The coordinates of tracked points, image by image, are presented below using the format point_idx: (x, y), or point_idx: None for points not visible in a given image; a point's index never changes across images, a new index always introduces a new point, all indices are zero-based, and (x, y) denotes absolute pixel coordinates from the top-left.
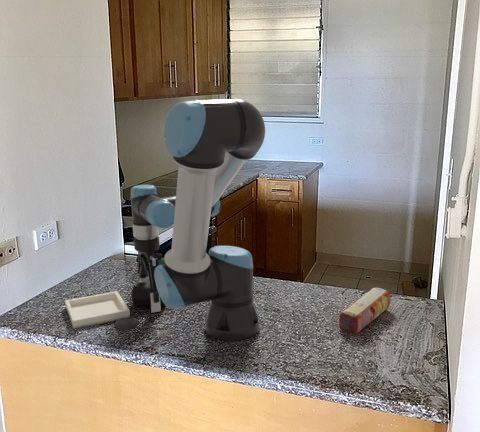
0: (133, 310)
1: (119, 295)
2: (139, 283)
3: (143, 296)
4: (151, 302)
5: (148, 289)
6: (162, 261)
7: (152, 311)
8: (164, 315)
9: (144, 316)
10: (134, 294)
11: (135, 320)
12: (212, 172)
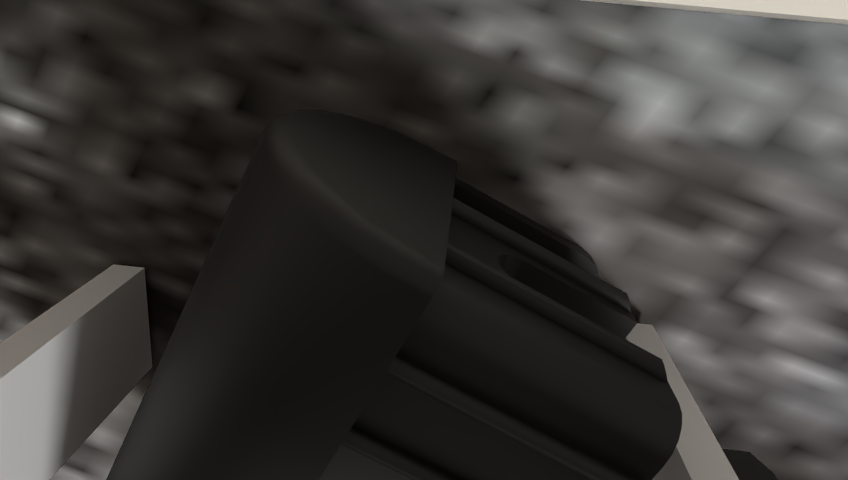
0: (317, 89)
1: (773, 1)
2: (613, 460)
3: (185, 307)
4: (17, 332)
5: (169, 473)
6: None
7: (106, 276)
8: None
9: (66, 148)
10: (248, 184)
11: None
12: None
